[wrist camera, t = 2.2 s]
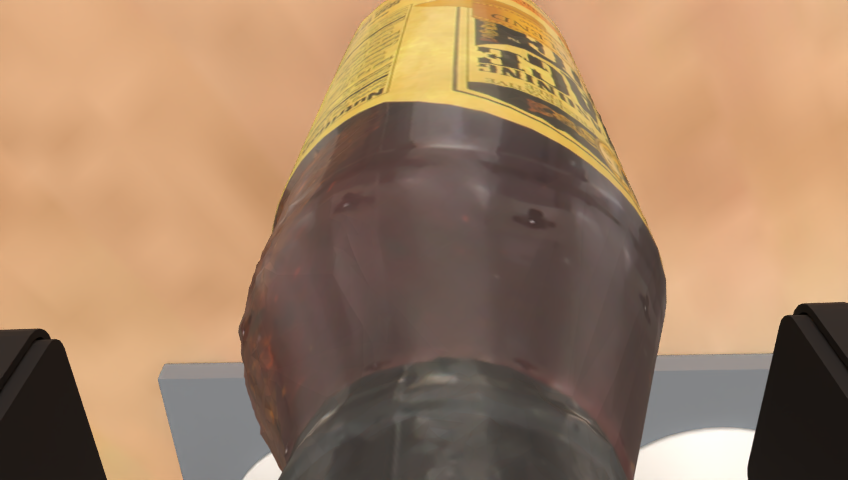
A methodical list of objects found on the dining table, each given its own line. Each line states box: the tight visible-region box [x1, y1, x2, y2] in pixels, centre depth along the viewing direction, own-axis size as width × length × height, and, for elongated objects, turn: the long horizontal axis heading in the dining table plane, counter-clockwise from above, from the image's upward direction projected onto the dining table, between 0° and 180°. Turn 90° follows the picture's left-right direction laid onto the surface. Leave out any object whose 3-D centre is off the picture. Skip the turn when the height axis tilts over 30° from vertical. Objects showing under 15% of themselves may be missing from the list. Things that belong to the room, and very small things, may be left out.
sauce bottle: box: [238, 0, 667, 480], centre depth 14 cm, size 6×6×20 cm
